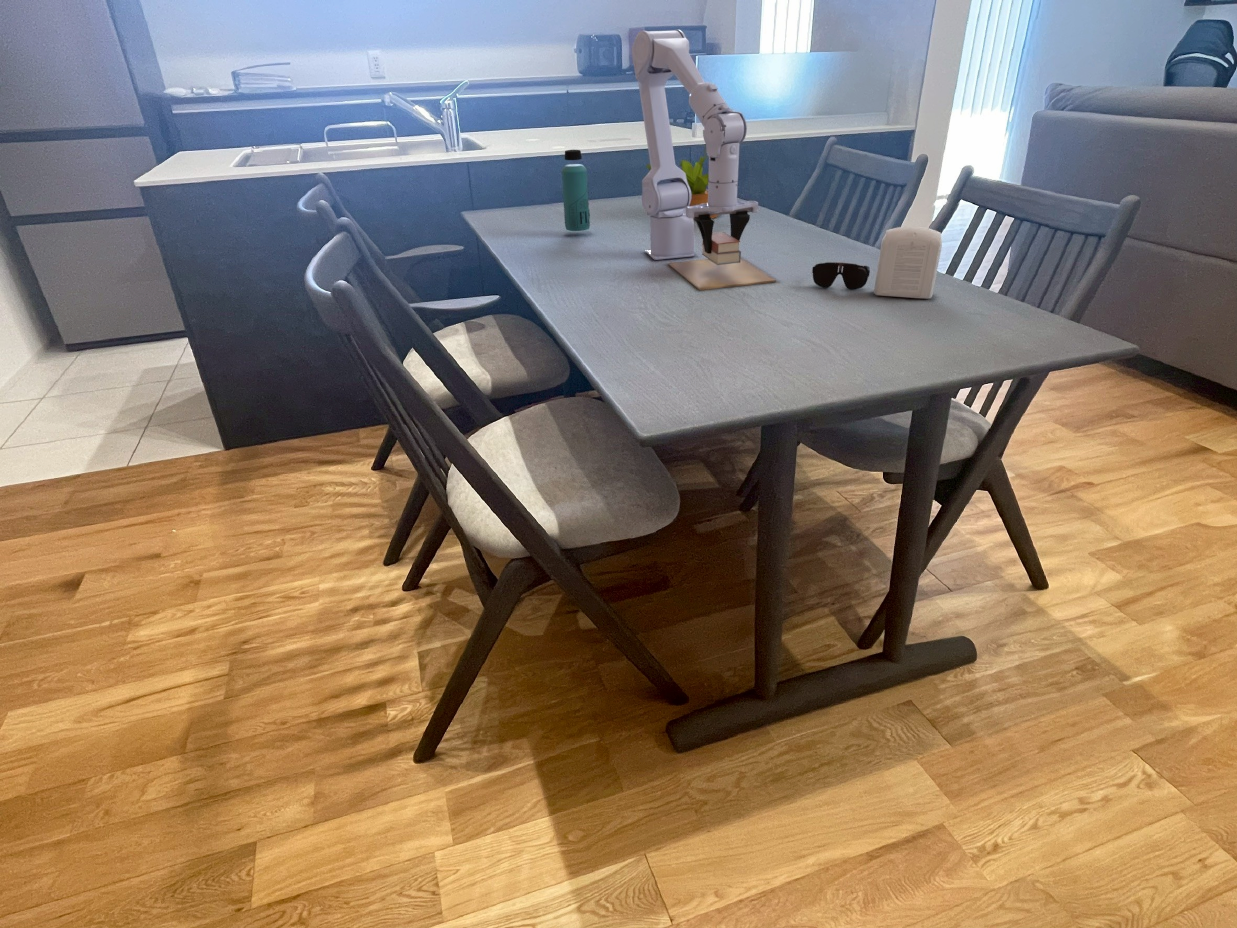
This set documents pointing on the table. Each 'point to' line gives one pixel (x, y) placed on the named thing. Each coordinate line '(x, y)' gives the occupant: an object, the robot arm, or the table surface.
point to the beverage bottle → (575, 193)
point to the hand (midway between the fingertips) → (720, 251)
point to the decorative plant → (696, 182)
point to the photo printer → (908, 262)
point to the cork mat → (720, 274)
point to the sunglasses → (851, 274)
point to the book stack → (723, 249)
